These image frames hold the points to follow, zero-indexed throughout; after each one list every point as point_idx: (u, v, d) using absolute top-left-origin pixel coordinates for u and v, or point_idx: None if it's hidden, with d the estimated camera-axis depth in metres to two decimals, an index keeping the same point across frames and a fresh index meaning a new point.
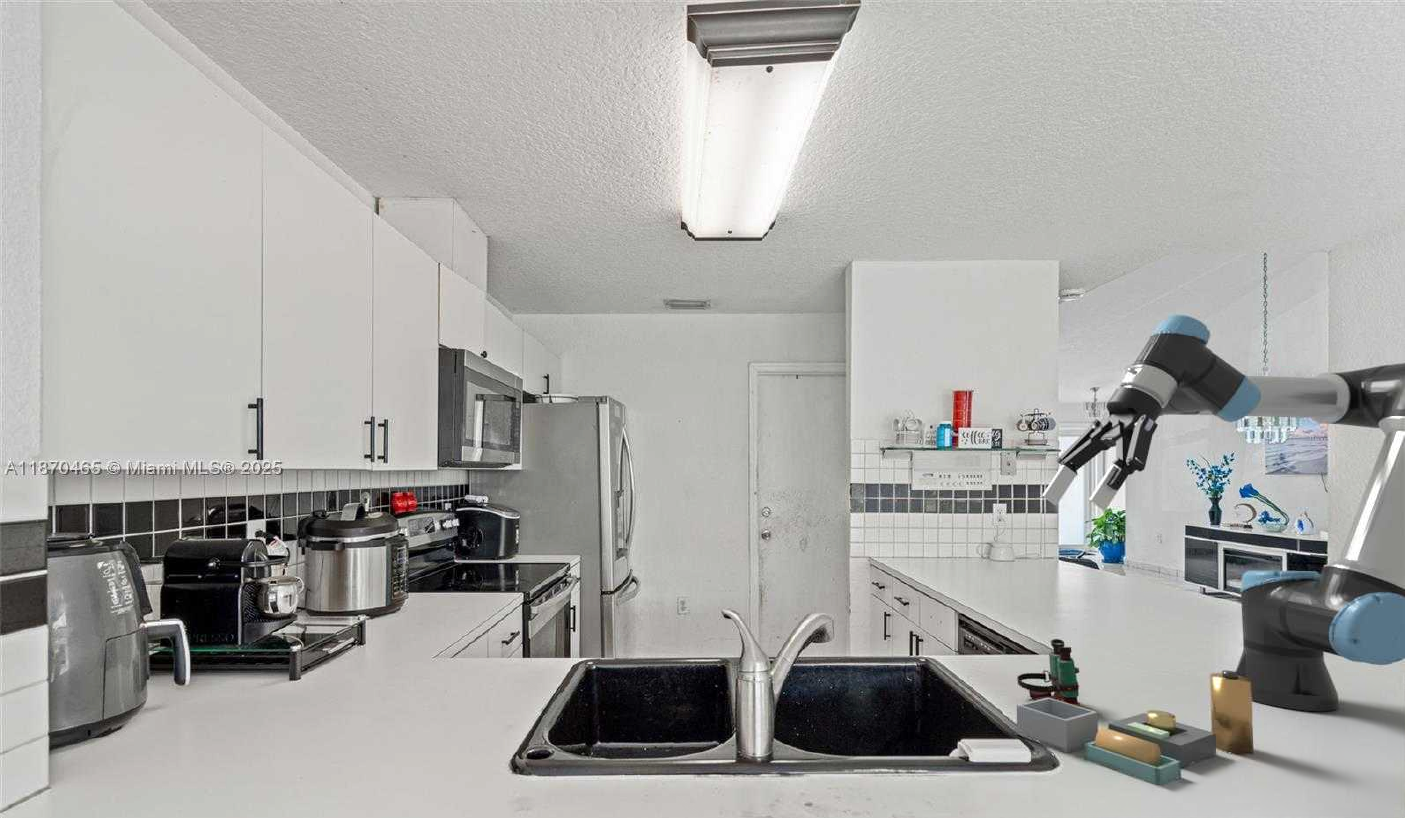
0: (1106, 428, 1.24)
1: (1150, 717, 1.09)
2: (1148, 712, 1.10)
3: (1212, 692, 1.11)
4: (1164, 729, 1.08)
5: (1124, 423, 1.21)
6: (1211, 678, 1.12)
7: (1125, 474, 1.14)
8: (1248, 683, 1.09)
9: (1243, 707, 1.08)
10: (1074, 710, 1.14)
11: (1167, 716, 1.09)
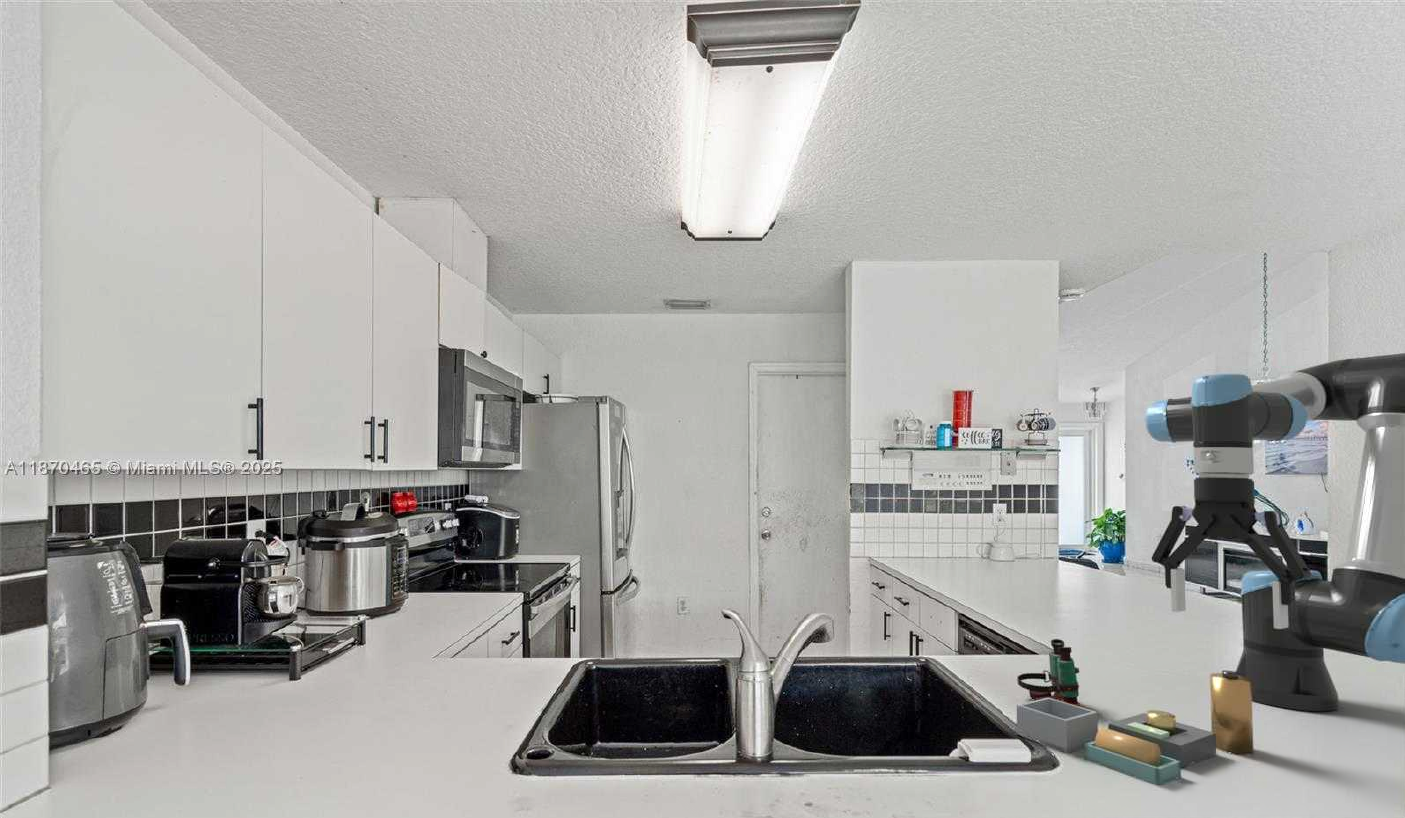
0: (1211, 523, 1.13)
1: (1150, 717, 1.09)
2: (1148, 712, 1.10)
3: (1212, 692, 1.11)
4: (1164, 729, 1.08)
5: (1239, 518, 1.10)
6: (1211, 678, 1.12)
7: (1293, 586, 1.05)
8: (1248, 683, 1.09)
9: (1243, 707, 1.08)
10: (1074, 710, 1.14)
11: (1167, 716, 1.09)
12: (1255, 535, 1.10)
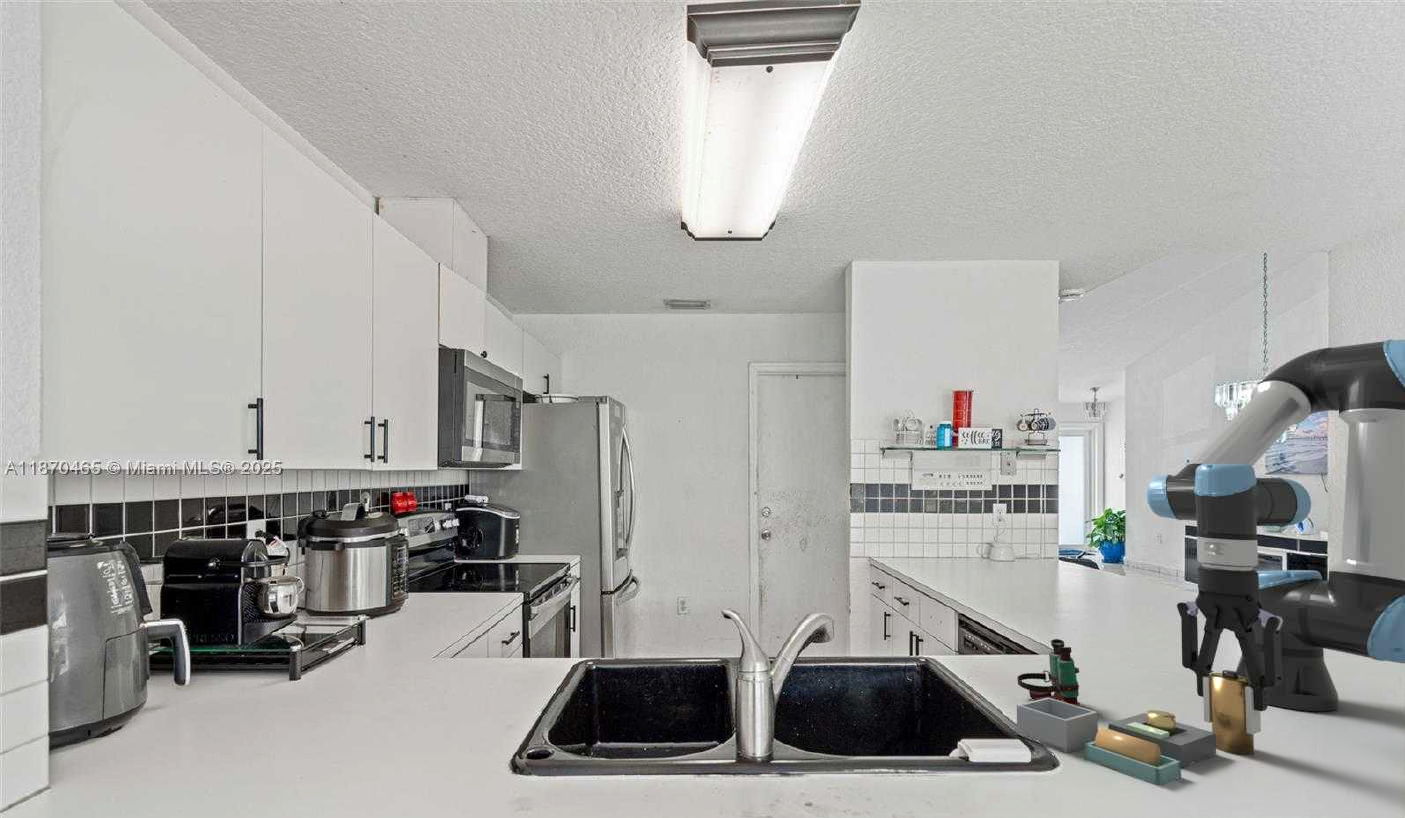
0: (1218, 614, 1.12)
1: (1150, 717, 1.09)
2: (1148, 712, 1.10)
3: (1212, 692, 1.11)
4: (1164, 729, 1.08)
5: (1242, 609, 1.09)
6: (1211, 678, 1.12)
7: (1265, 692, 1.07)
8: (1248, 683, 1.09)
9: (1244, 707, 1.08)
10: (1074, 710, 1.14)
11: (1167, 716, 1.09)
12: (1250, 634, 1.09)
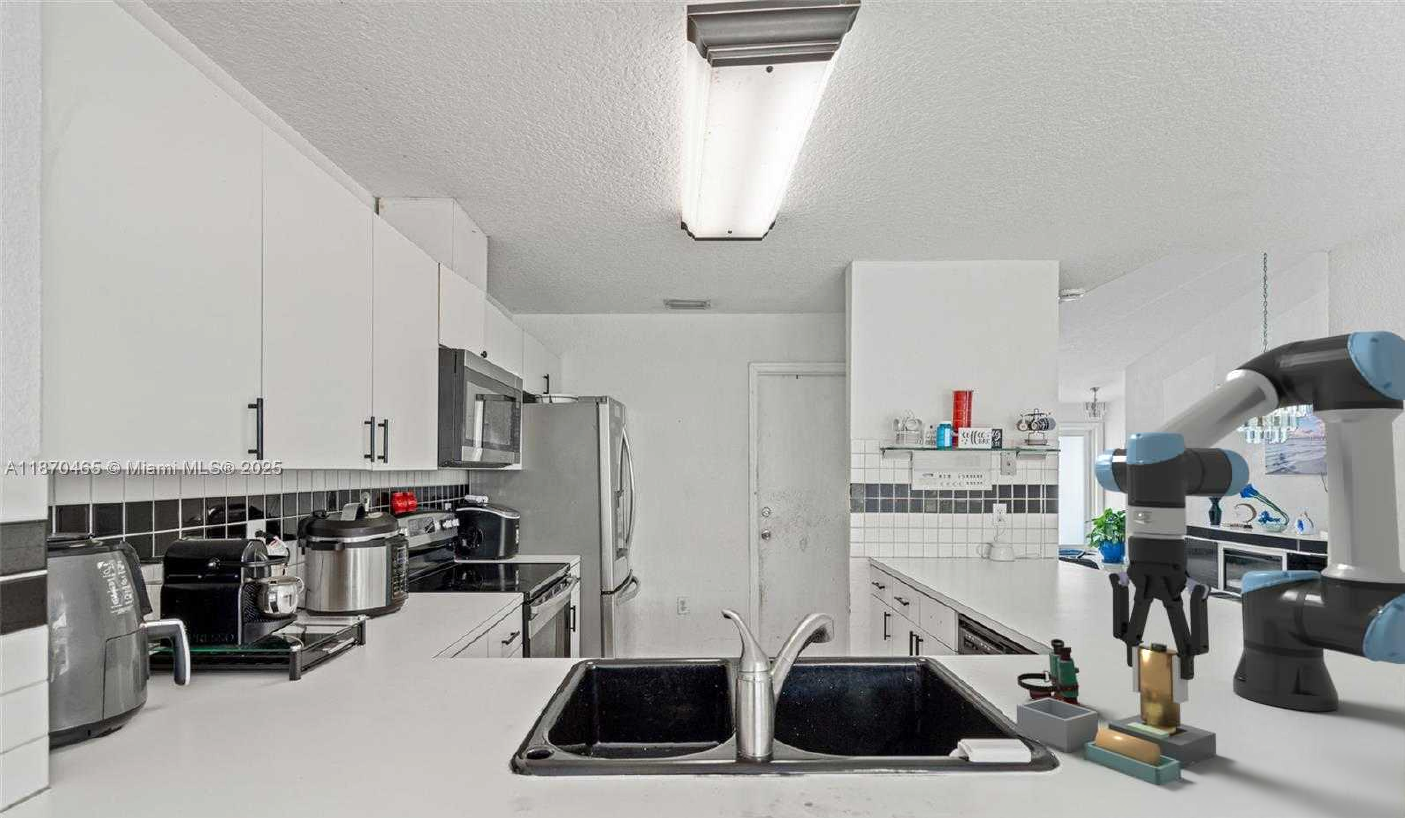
0: (1147, 583, 1.11)
1: (1150, 724, 1.09)
2: None
3: (1141, 665, 1.10)
4: None
5: (1170, 578, 1.09)
6: (1140, 651, 1.11)
7: (1192, 660, 1.07)
8: None
9: (1170, 679, 1.07)
10: (1074, 710, 1.14)
11: None
12: (1178, 603, 1.09)
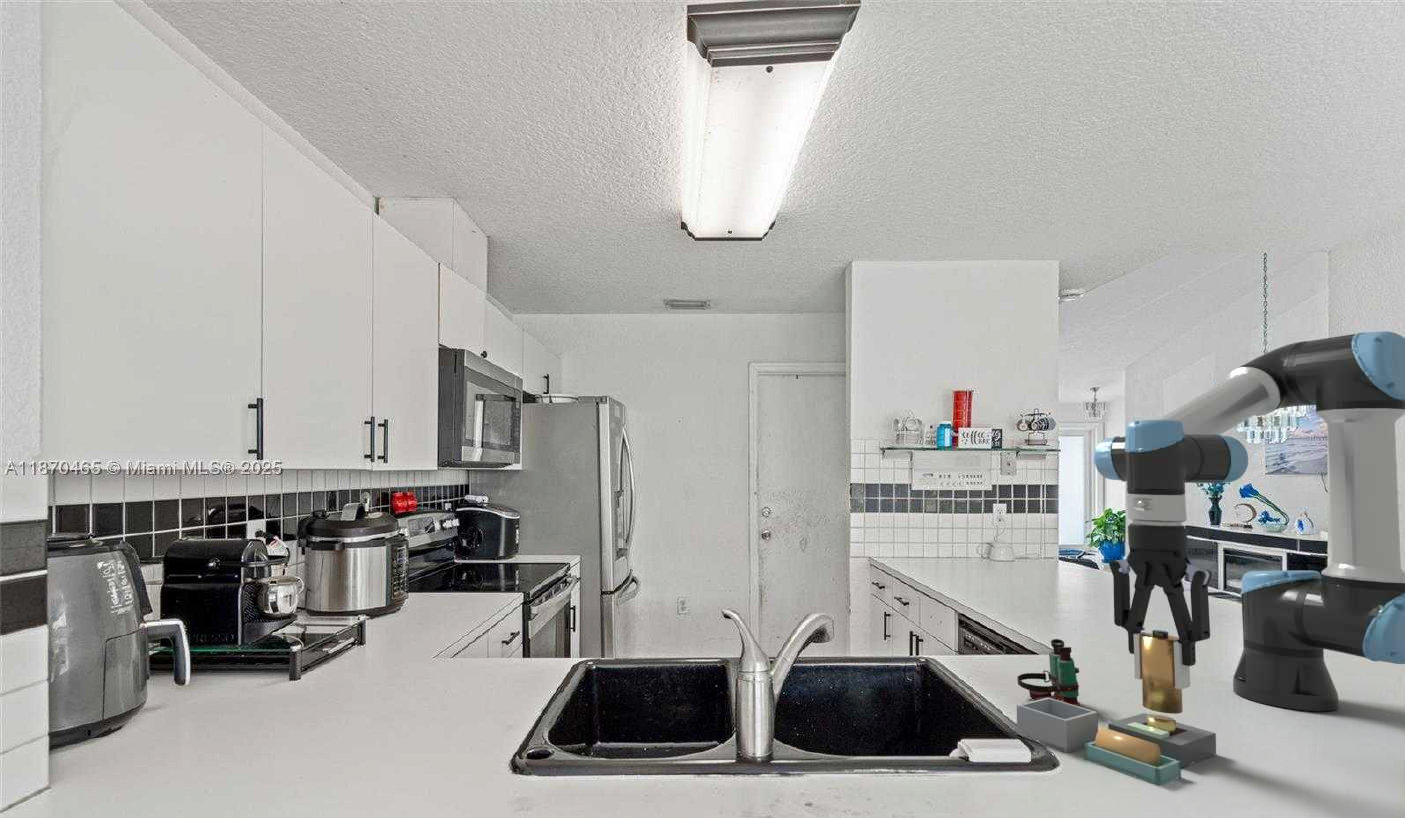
0: (1147, 570, 1.11)
1: (1150, 721, 1.09)
2: (1148, 716, 1.10)
3: (1142, 652, 1.11)
4: None
5: (1170, 565, 1.09)
6: (1141, 638, 1.11)
7: (1193, 646, 1.07)
8: None
9: (1172, 665, 1.08)
10: (1074, 710, 1.14)
11: (1167, 720, 1.09)
12: (1179, 589, 1.09)
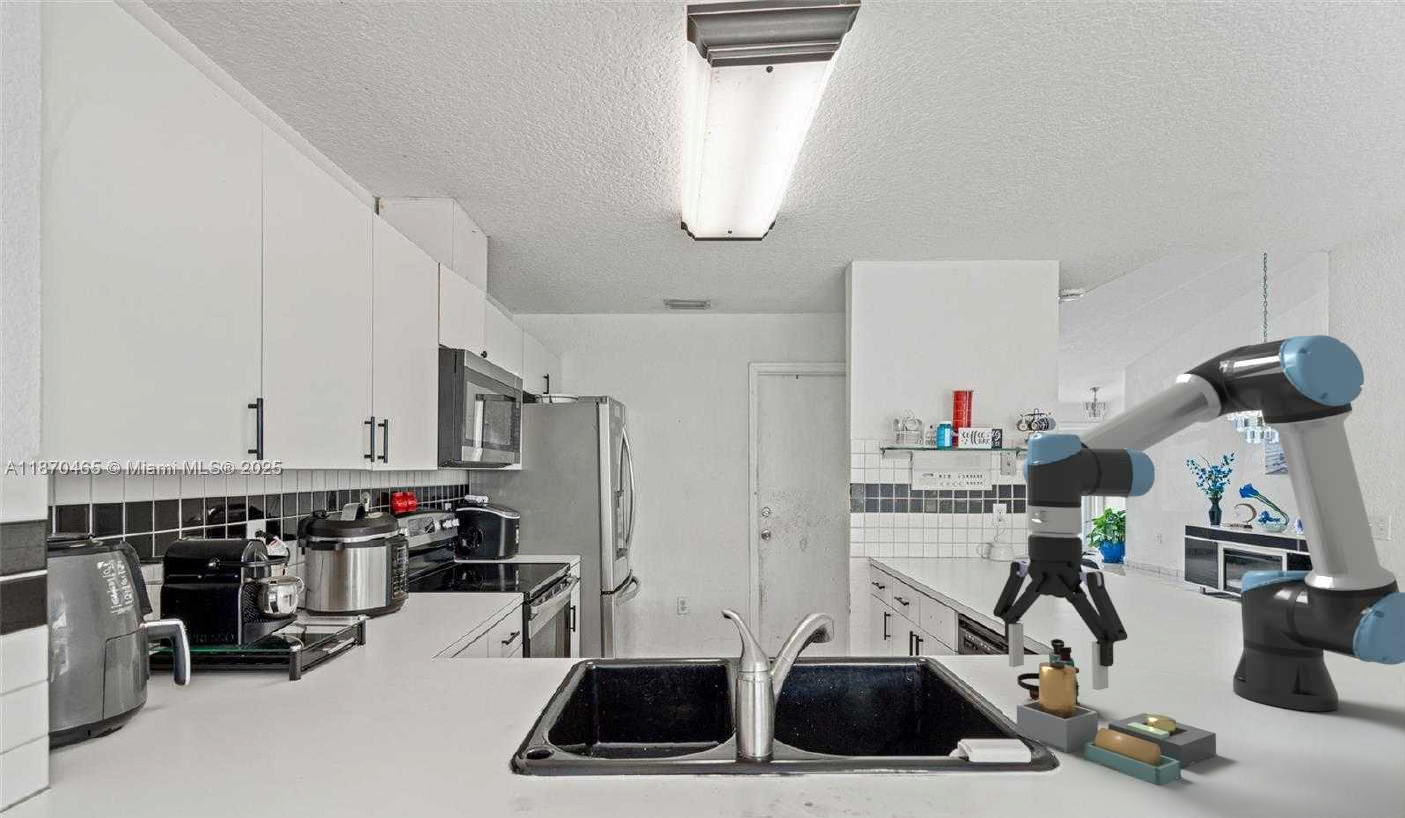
0: (1042, 581, 1.14)
1: (1150, 721, 1.09)
2: (1148, 716, 1.10)
3: (1039, 681, 1.13)
4: None
5: (1065, 578, 1.12)
6: (1039, 667, 1.13)
7: (1111, 647, 1.07)
8: (1071, 672, 1.10)
9: (1066, 696, 1.10)
10: None
11: (1167, 720, 1.09)
12: (1080, 594, 1.11)
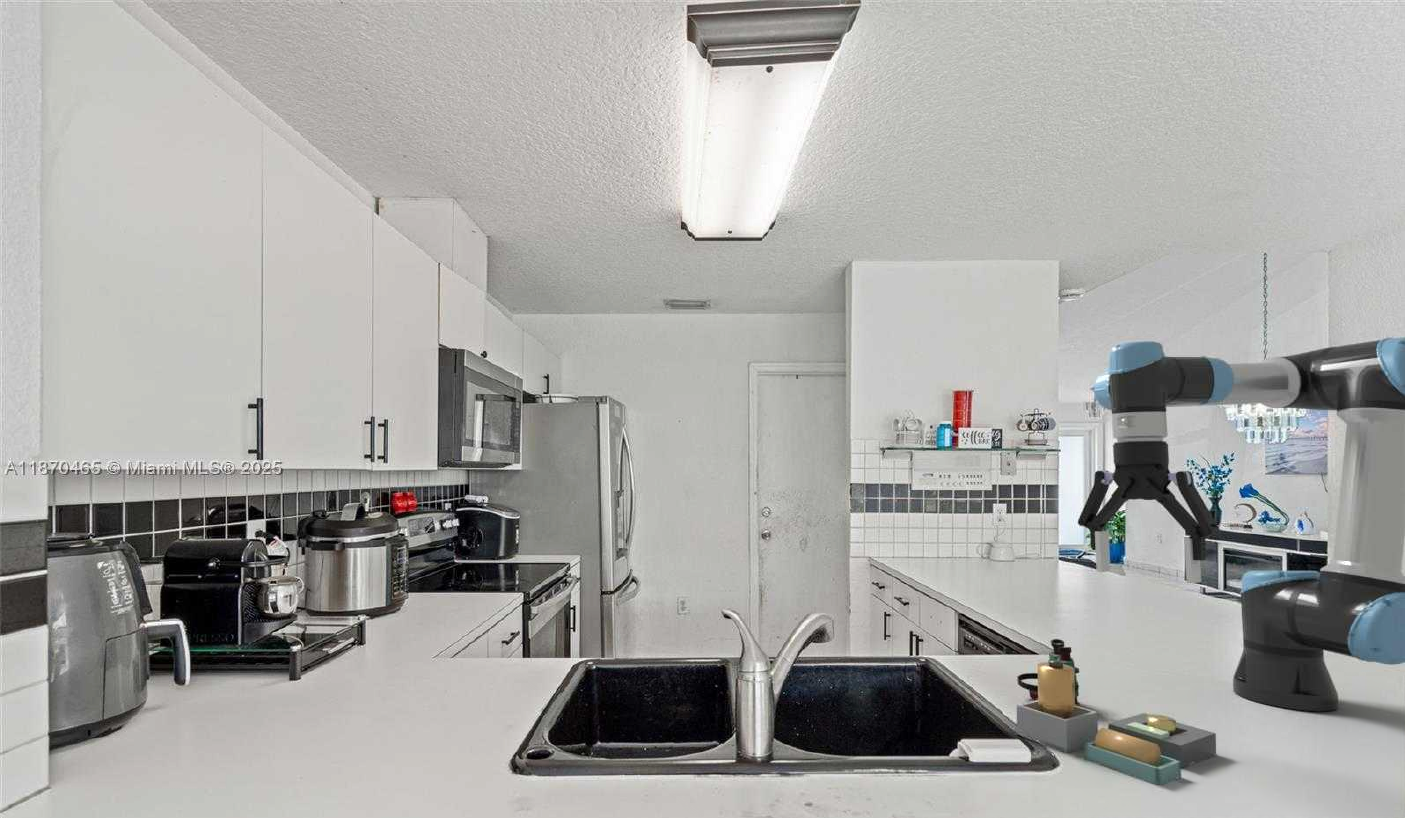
0: (1129, 486, 1.18)
1: (1150, 721, 1.09)
2: (1148, 716, 1.10)
3: (1038, 681, 1.13)
4: None
5: (1153, 480, 1.15)
6: (1038, 667, 1.13)
7: (1204, 542, 1.10)
8: (1070, 672, 1.11)
9: (1065, 695, 1.10)
10: None
11: (1167, 720, 1.09)
12: (1169, 495, 1.14)
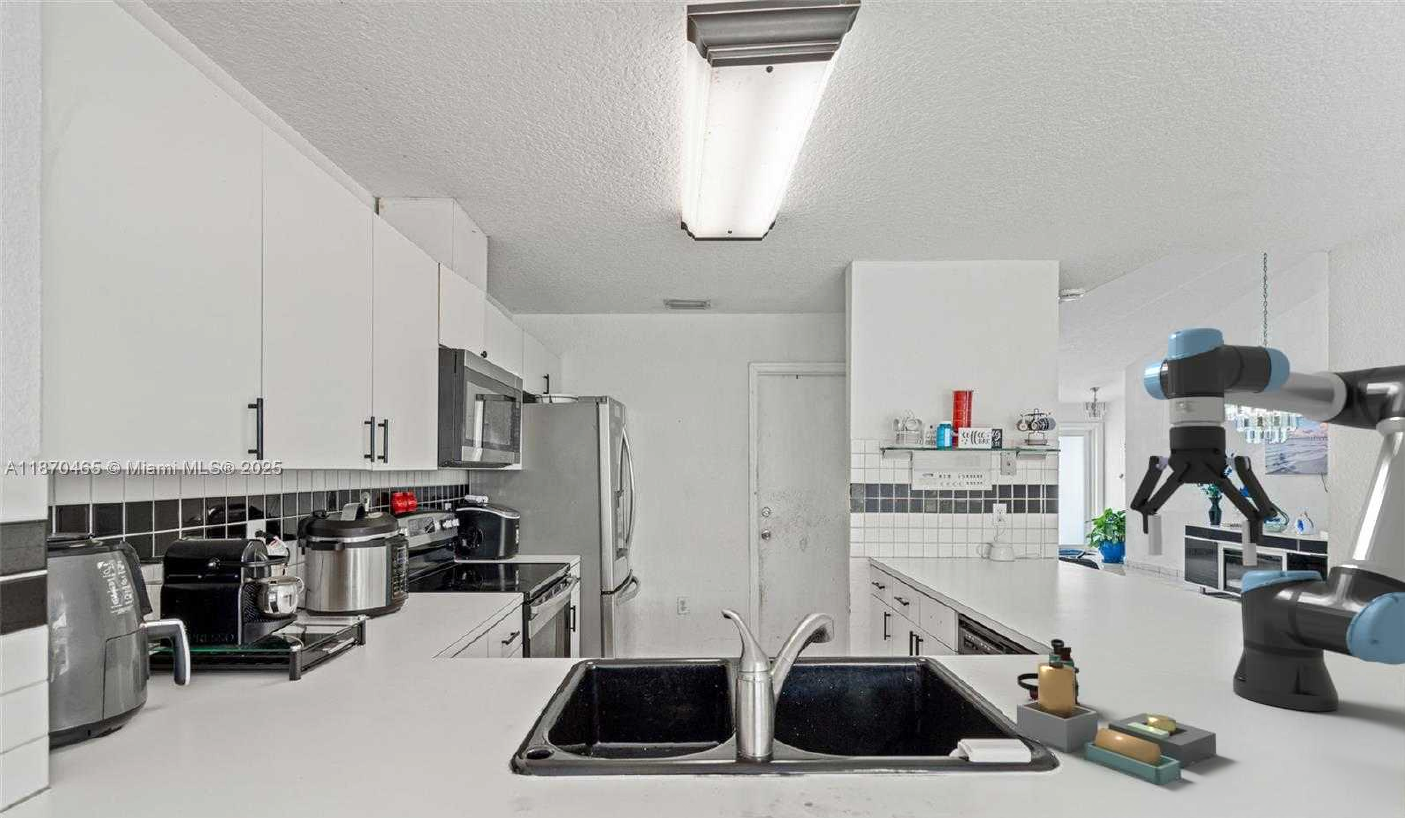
0: (1185, 470, 1.19)
1: (1150, 721, 1.09)
2: (1148, 716, 1.10)
3: (1039, 681, 1.13)
4: None
5: (1211, 464, 1.17)
6: (1038, 667, 1.13)
7: (1261, 525, 1.12)
8: (1070, 672, 1.11)
9: (1065, 695, 1.10)
10: None
11: (1167, 720, 1.09)
12: (1226, 479, 1.16)
